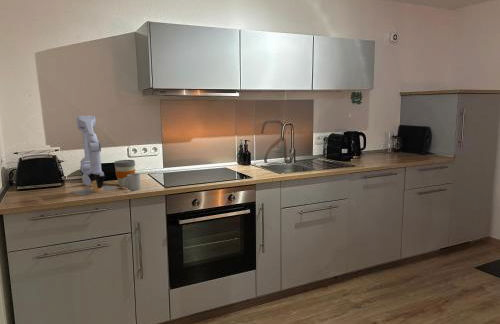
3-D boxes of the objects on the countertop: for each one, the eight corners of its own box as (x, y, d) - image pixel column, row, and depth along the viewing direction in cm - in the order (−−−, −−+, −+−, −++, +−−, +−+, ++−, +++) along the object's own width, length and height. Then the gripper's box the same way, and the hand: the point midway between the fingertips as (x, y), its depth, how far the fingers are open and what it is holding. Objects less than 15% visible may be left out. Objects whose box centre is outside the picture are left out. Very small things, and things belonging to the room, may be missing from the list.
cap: (91, 191, 210) (90, 181, 209) (100, 189, 214) (99, 179, 213) (95, 192, 207) (94, 182, 206) (104, 190, 210) (103, 180, 209)
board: (70, 194, 210) (69, 186, 209) (107, 187, 226) (106, 180, 225) (80, 198, 201) (80, 190, 200) (118, 190, 216) (118, 183, 216)
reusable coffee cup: (139, 184, 233) (138, 161, 231) (120, 187, 225) (118, 163, 223) (131, 181, 243) (130, 159, 240) (112, 184, 234) (110, 161, 232)
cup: (141, 190, 218) (140, 175, 217) (123, 191, 214) (122, 176, 213) (140, 187, 225) (139, 173, 223) (123, 189, 221) (121, 174, 220)
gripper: (82, 163, 210) (85, 186, 212) (94, 165, 200) (96, 190, 202) (95, 161, 215) (97, 184, 217) (106, 164, 205) (108, 187, 207)
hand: (97, 187), depth 210 cm, fingers open, 6 cm apart
